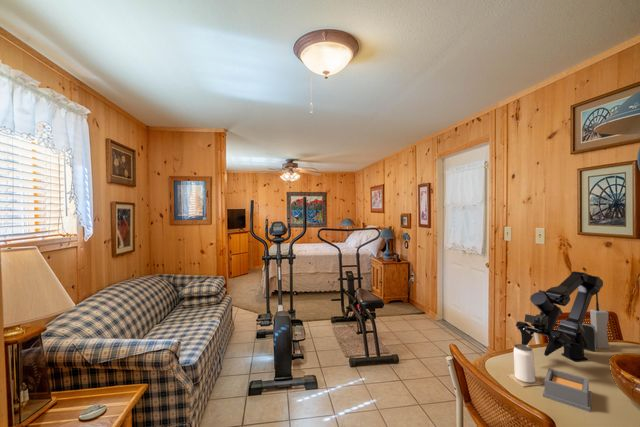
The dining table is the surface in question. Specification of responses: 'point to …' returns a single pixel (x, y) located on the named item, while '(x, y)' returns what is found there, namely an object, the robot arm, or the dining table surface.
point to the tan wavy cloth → (524, 382)
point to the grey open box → (567, 390)
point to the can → (524, 363)
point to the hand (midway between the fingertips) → (533, 351)
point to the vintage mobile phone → (600, 326)
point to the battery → (590, 336)
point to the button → (567, 383)
